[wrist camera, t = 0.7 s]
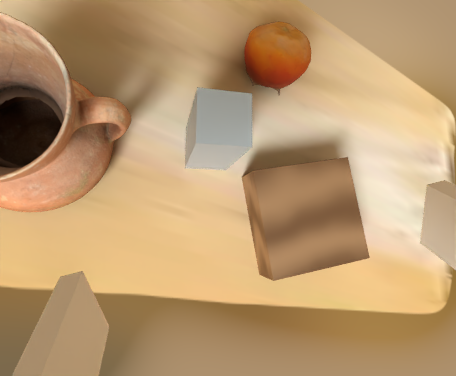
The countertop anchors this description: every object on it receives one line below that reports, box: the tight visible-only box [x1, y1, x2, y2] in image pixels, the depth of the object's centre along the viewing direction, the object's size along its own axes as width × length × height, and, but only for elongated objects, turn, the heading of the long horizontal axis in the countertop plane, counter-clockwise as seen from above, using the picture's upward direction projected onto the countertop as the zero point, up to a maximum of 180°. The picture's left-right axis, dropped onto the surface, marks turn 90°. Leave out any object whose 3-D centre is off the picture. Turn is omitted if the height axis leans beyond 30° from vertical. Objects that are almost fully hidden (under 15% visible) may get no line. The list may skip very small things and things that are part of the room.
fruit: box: [245, 22, 311, 95], centre depth 38 cm, size 8×8×8 cm
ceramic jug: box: [0, 12, 131, 212], centre depth 27 cm, size 18×14×14 cm
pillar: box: [185, 87, 252, 170], centre depth 32 cm, size 5×5×11 cm
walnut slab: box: [242, 157, 369, 281], centre depth 37 cm, size 12×12×5 cm
